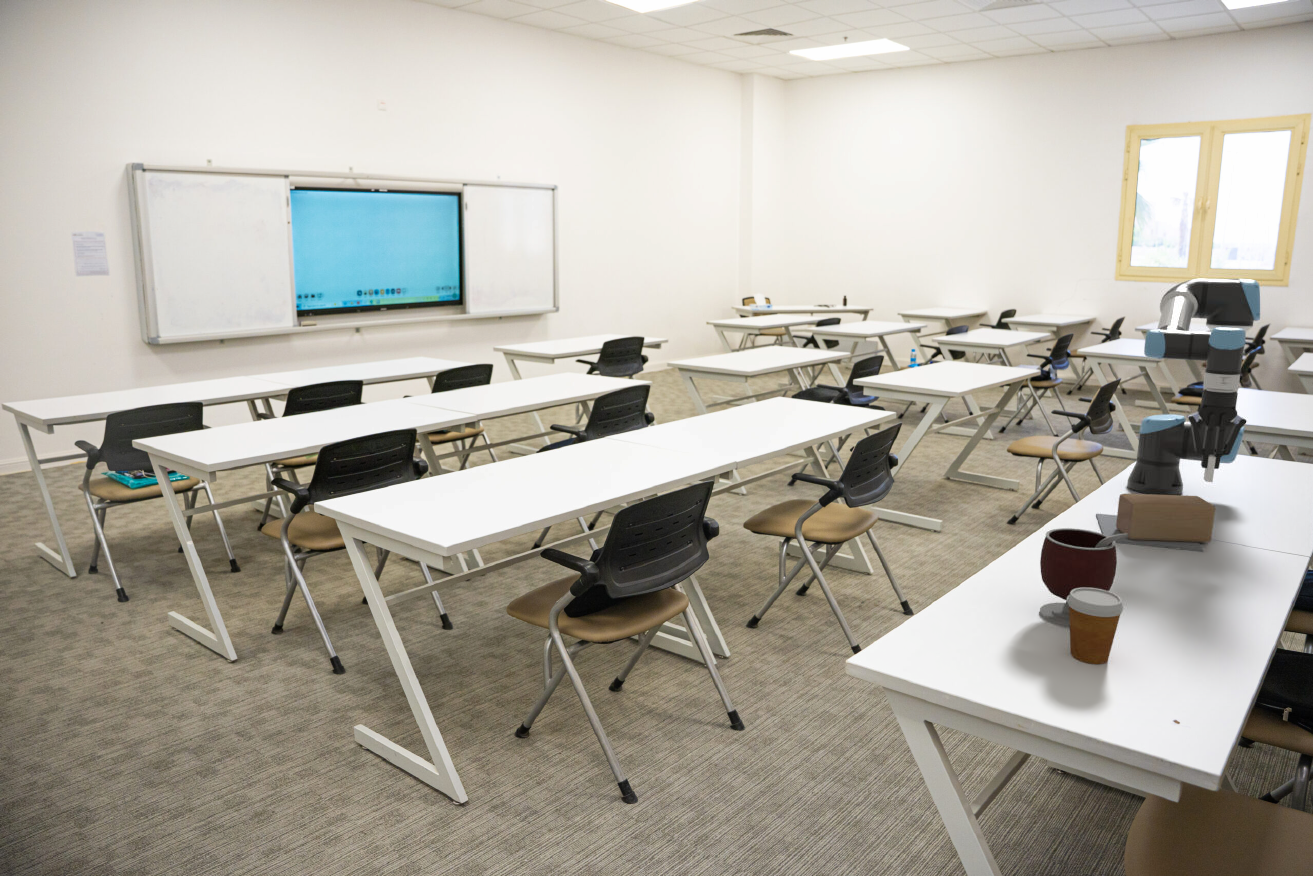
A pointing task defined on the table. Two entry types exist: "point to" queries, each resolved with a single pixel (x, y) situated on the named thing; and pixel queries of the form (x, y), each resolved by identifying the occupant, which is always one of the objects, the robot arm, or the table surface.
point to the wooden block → (1165, 517)
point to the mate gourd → (1075, 566)
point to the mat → (1110, 529)
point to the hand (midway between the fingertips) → (1208, 480)
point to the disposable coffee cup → (1093, 623)
